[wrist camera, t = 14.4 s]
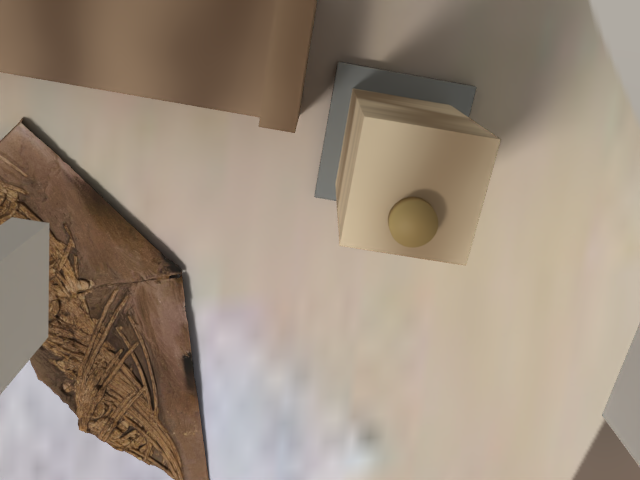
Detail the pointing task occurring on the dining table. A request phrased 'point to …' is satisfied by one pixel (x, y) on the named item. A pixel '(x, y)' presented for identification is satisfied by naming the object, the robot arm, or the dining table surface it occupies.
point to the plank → (168, 50)
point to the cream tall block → (412, 177)
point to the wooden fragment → (107, 315)
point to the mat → (381, 83)
